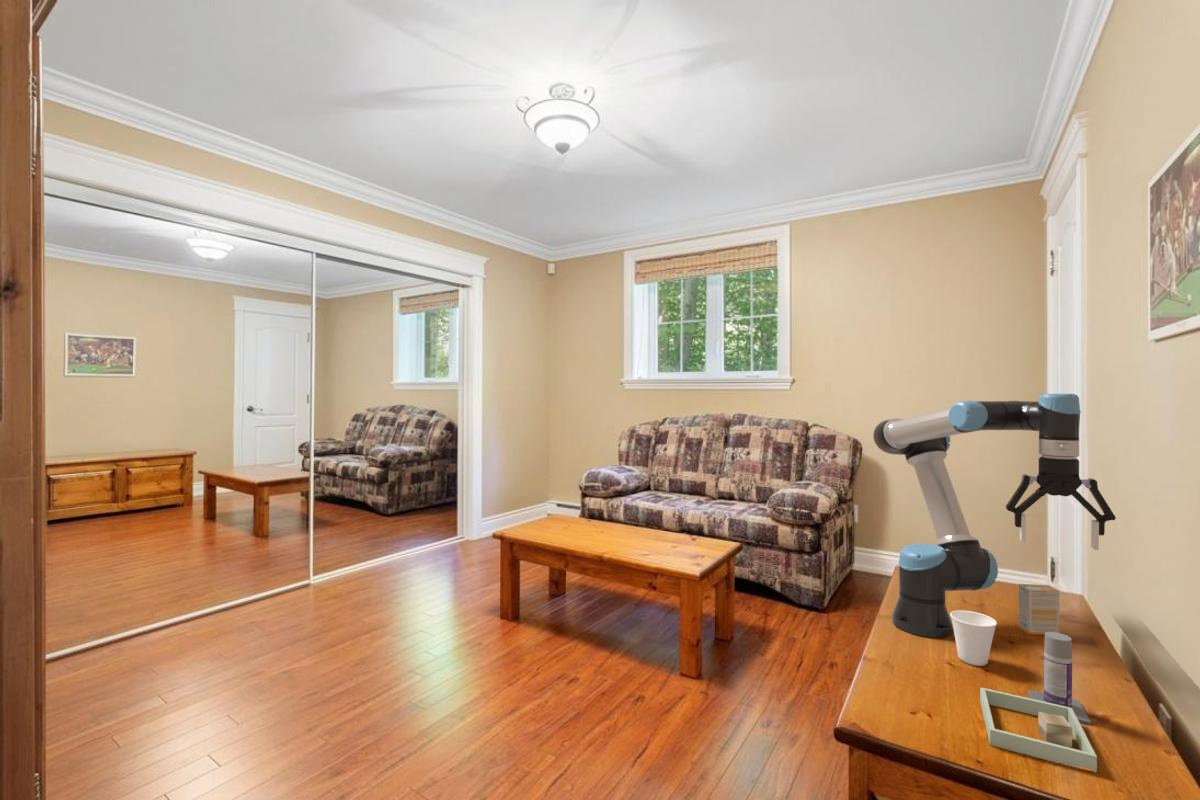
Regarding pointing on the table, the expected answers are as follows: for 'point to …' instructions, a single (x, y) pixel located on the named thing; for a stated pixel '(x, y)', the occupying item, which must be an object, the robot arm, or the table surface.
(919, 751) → the table surface
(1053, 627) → the supplement box
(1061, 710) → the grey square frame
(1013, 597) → the table surface
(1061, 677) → the container
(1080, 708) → the pad
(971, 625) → the cup
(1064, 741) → the maple block
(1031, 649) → the table surface
